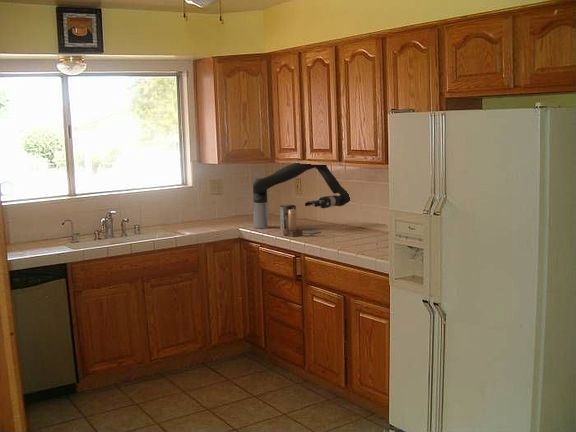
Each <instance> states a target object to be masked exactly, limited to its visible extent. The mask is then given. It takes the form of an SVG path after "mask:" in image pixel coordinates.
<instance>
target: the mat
mask: <svg viewBox="0 0 576 432" xmlns="http://www.w3.org/2000/svg"><path fill="white" fill-rule="evenodd" d="M302 233H303V234H304V235H315V234H320V233H321V231H319V230H318V231H316V230H307V231H302Z"/></svg>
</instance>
